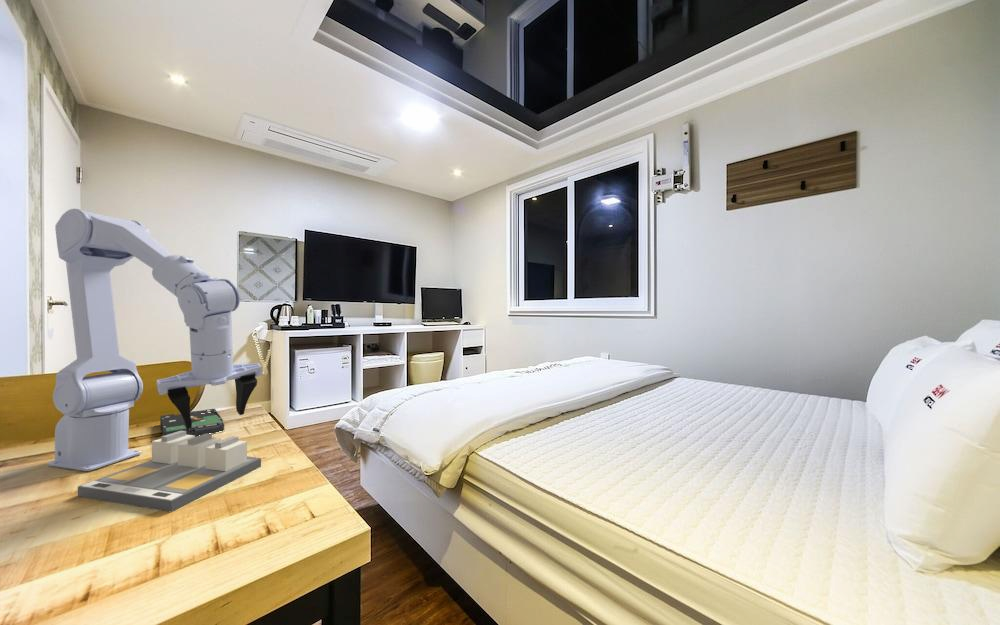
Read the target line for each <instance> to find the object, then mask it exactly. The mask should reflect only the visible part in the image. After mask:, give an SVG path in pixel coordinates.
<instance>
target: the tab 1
mask: <svg viewBox="0 0 1000 625" xmlns="http://www.w3.org/2000/svg"><path fill="white" fill-rule="evenodd" d="M160 437H161V438H158V439H155V440H151V460H152V462H158V463H166V464H172V463H175V462H178V444H181V443H184V442H187V441H188V439H191V438H194V437H195V436H194V435H186V431H178V432H175V433H171V434H168V435H165V436H160Z"/></svg>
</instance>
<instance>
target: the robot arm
mask: <svg viewBox="0 0 1000 625" xmlns="http://www.w3.org/2000/svg"><path fill="white" fill-rule="evenodd" d="M54 228H55V229H54V230H55V236H56V238H55V239H56V246H57V253H58V258H59V259H60V260H63V261H64V262H65V265H66V274H67V282H68V283H67V284H68V293H69V300H70V307H71V308H70V310H71V318H72V326H73V333H74V334H73V335H74V337H73V338H74V344H75V353H76V359H75V360H73V361H72V362H70V363H69V364H67V365H66V366H65V367H63V368H61V369H60V370H59V371H58V372H56V374H55V387H54V389H53V393H52V401H53V405H54V407H55V408H56V409H57V411H59V412H60V413H61V414H63V416H62V417H61V418H60V419H59V420H58V422H57V424H56V425H55V428H54V429H55V430H54V460H53V461H49V462H47V463H46V465H47V466H50V467H56V468H62V469H69V470H77V471H83V472H90V471H94V470H97V469H100V468H103V467H106V466H108V465H111V464H115V463H117V462H120V461H123V460H127V459H129V458H130V459H131V457H132V458H133V457H135V456H138V455H141V454H142V450H136V449H130V448H129V437H130V436H129V432H130V431H129V430H130V428H129V425H130V408H133V407H134V406H135V402H136V401H138V400H139V399H140V397H141V396H142V393H143V390H144V383H143V380H142V378H141V376H140V375H139V372H138V370H137V364H136V363H135V362H134V361H132V360H130V359H128V358H126V357H124V356H122V355H121V354H120V347H119V338H118V332H117V331H118V330H117V321H116V315H115V314H116V312H115V304H114V297H113V287H112V278H111V271H112V270H113V269H114V268H115V267H119V266H123V265H126V263H128V262H129V261H130V260H132V259H133V258H136V259H137V260H138V261H140V262H142V263H143V264H145V265H146V266H148V267H150V268H151V269H152V270H151V271H152V272H151V274H152V278H153V279H154V280H155V281H156V283H158V284H160V285H161V286H162V287H164V288H165V289H166V290H168V291H169V292H170V293H171V294H172V295H173V296H175V297H176V298H177V303H178V307H179V308H180V310H181V312H182V314H183V319H184V323H185V326H186V327H188V329H189V331H188V332H189V343H190V344H189V346H190V362H191V363H190V364H191V370H190V371H187V372H183V373H179V374H177V375H173V376H169V377H165V378H161V379H160V378H159V379H156V389H157V392H158V395H159V396H163V395H167V396H168V398H169V400H170V401H171V403H172V404H173V406H175V407H176V409H177V410H178V411H179V414H181V415H182V417H183V421H184V425H185V427H186V429H188V428H192V422H191V416H190V412H191V409H190V408H191V397H190V395H189V391H188V389H190V388H194V387H201V386H205V385H206V386H207V385H211V386H213V387H214V386H215V387H216V386H220V385H224V384H226V383H227V382H228V381H232V380H234V384H235V393H236V394H235V397H236V398H235V409H236V412H237V413H238V415H239V416H242V415H244V414H245V412H246V411H245V410H246V407H247V405H248V404H247V403H248V401H249V399H250V397H251V395H252V392H254V390H255V388H256V387H257V385H258V379H257V378H256V377H262V376H263V366H262V365H261V364H260V363H259V362H255V363H244V364H243V363H242V364H234V359H233V358H234V357H233V355H234V354H233V326H232V325H233V324H232V322H233V321H232V312H235V311H237V309H238V308H239V305H240V302H241V301H240V300H241V299H240V298H241V297H240V294H239V290H238V288H237V287H236V286H235V284H234V283H233V282H232V281H231V280H229V279H228V278H220V279H219V278H218V277H212V276H211V275H209V274H208V273H207V272H205V271H204V270H203V269H202V268H201V267H199V266H198V265H197V264H195V263H194V262H195V259H194V258H192V257H191V256H186V255H180V254H178V255H177V254H171V253H170V252H169V251H168V250H167V249H166V248H165V247H164V246H162V245H161V243H159V242H158V241H157V240H156V239H155V238H154V237H153V236H152V235H151V229H150V228H148V227H147V226H145V225H144V224H143V223H142V222H140V221H138V220H129V219H125V218H119V217H115V216H110V215H109V216H108V215H105V214H101V213H100V214H99V213H95V212H90V211H85V210H82V209H80V208H71V209H67V210H66V211H65V212H64V213H63V214H61V216H60V218H59V219H58V221H57V222H56V224H55V227H54ZM101 372H110V373H103V374H96V375H89V374H93V373H101ZM87 375H89V376H87Z"/></svg>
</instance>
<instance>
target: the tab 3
mask: <svg viewBox="0 0 1000 625" xmlns="http://www.w3.org/2000/svg"><path fill="white" fill-rule="evenodd" d="M247 456H248V441H247V440H245V441H244V440H239V436H234V435H233V436H230V437H227V438H224V439H221V441H219V442H216V443H215V444H214V445H211V446H209V447H206V452H205V469H211V470H218V471H228V470H230V469H232V468H234V467H236V466H238V465H240V464H242V463H245V462H247Z"/></svg>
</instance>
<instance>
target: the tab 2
mask: <svg viewBox="0 0 1000 625" xmlns="http://www.w3.org/2000/svg"><path fill="white" fill-rule="evenodd" d="M221 440H222V438H220V437H218V438H217V437H213V434H207V433H206V434H203V435H200V436H196V437H194V438H191V439H188V441H187V442H184V443H181V444H178V465H181V466H188V467H196V468H198V467H201V466H203V465H205V452H206V447H209V446H211V445H214V444H215V443H216V442H219V441H221Z"/></svg>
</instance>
